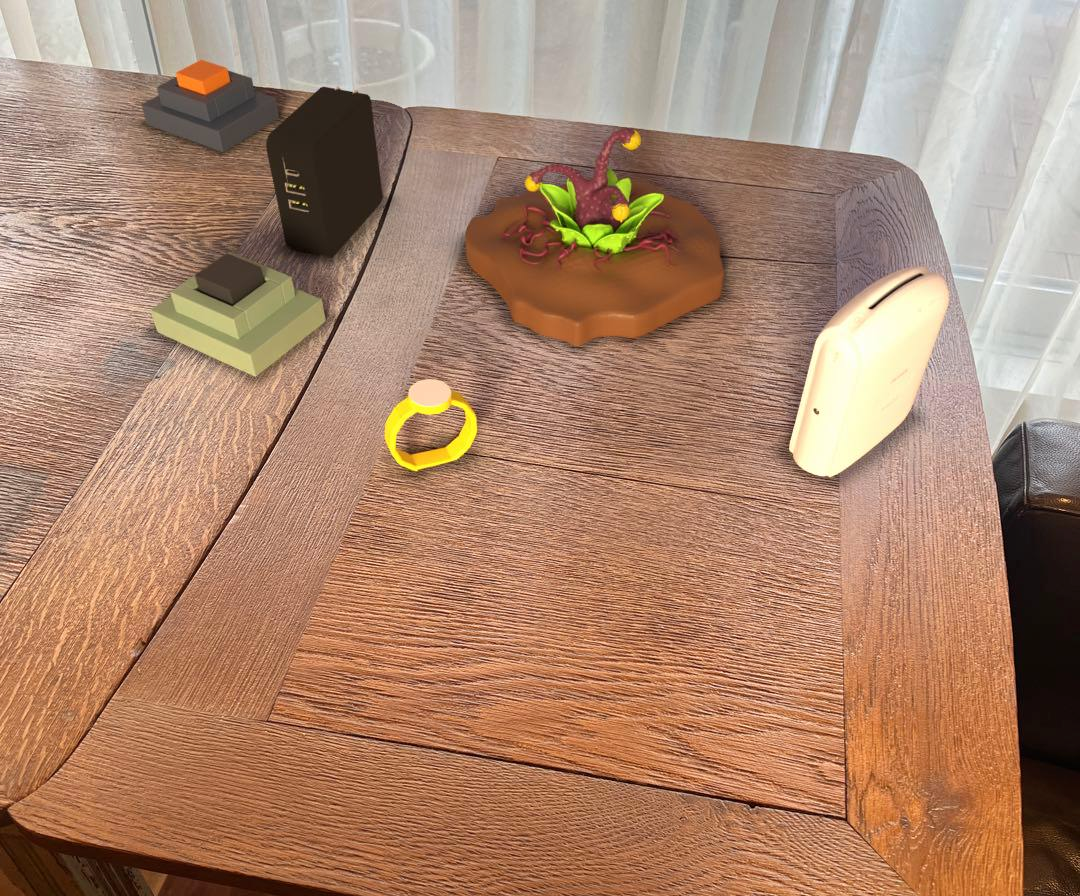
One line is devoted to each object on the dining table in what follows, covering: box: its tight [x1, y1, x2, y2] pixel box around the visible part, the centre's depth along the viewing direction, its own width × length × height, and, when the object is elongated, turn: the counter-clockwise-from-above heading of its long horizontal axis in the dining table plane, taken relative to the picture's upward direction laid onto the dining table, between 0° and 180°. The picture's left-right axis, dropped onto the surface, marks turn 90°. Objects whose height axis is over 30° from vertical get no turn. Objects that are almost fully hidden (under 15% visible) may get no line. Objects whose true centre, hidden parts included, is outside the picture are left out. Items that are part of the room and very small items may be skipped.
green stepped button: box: [149, 251, 327, 378], centre depth 78 cm, size 10×8×4 cm
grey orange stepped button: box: [141, 70, 280, 153], centre depth 99 cm, size 10×8×4 cm
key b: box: [175, 59, 230, 96], centre depth 98 cm, size 3×3×2 cm
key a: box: [194, 252, 264, 306], centre depth 76 cm, size 3×3×2 cm
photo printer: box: [788, 265, 950, 478], centre depth 67 cm, size 10×4×12 cm, turn 133°
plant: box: [464, 127, 725, 347], centre depth 81 cm, size 20×20×11 cm
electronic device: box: [265, 86, 383, 258], centre depth 85 cm, size 4×10×10 cm, turn 160°
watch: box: [384, 378, 478, 472], centre depth 67 cm, size 6×3×6 cm, turn 113°
